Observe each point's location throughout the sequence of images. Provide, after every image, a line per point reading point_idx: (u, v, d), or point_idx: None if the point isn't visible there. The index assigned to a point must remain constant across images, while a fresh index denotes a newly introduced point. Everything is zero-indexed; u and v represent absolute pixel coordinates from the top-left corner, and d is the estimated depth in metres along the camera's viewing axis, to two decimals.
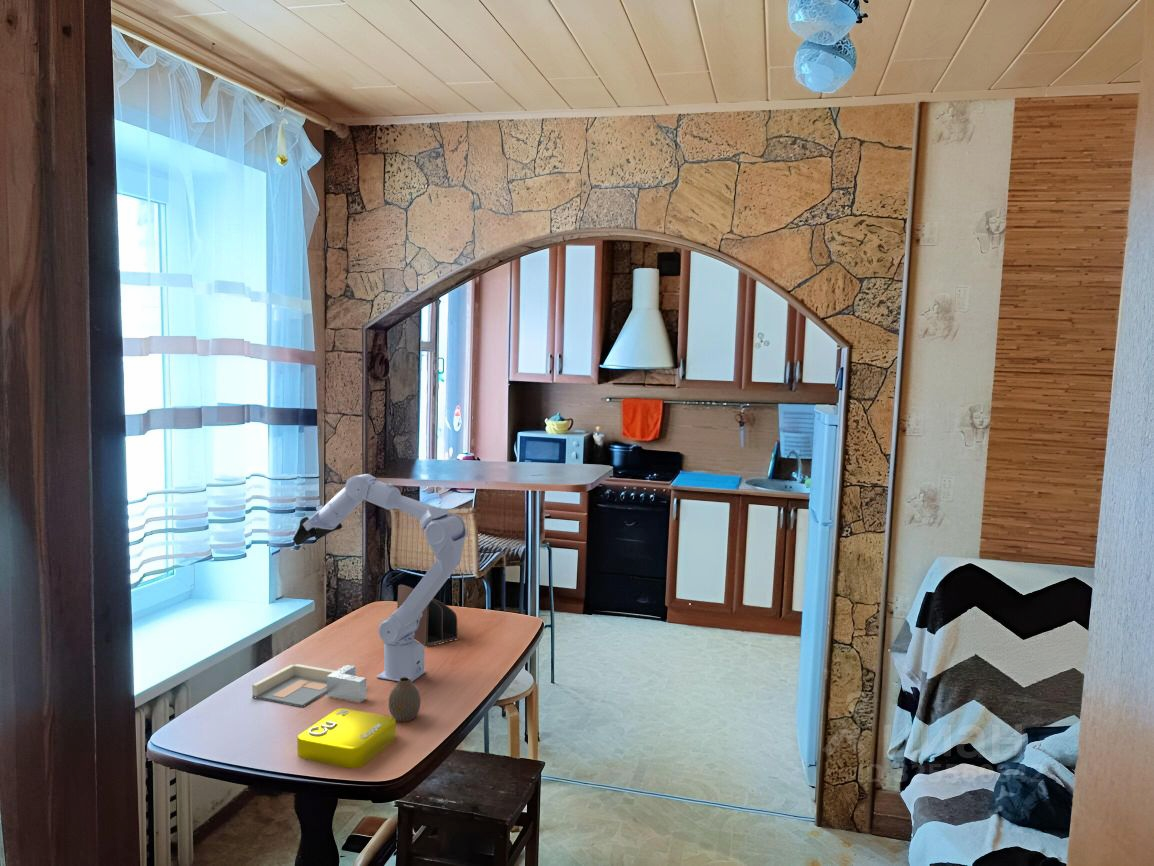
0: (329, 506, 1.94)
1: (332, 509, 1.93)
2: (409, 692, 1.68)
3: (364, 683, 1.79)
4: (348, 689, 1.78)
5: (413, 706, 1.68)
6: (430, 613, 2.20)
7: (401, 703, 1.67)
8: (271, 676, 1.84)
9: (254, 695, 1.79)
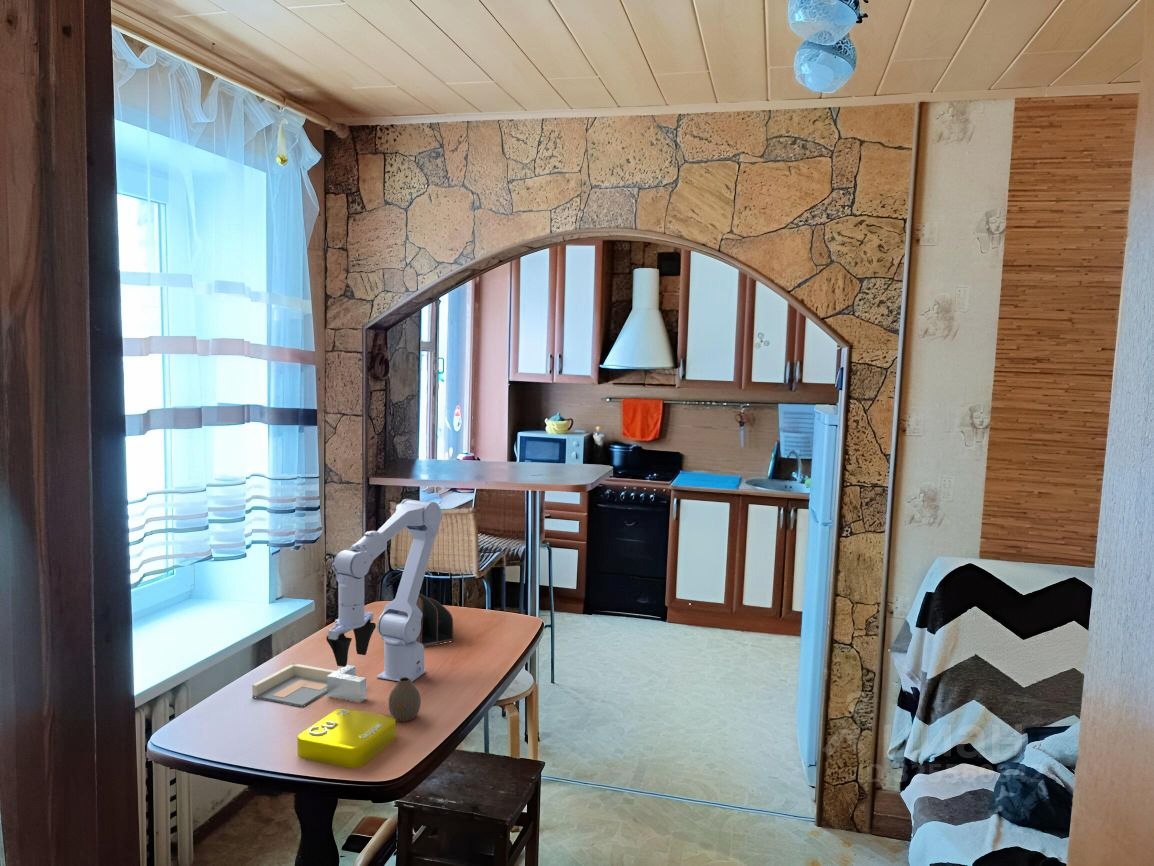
0: (340, 605, 1.75)
1: (344, 605, 1.75)
2: (410, 692, 1.68)
3: (364, 683, 1.79)
4: (348, 689, 1.78)
5: (413, 707, 1.68)
6: (427, 614, 2.20)
7: (401, 703, 1.67)
8: (271, 676, 1.84)
9: (254, 695, 1.79)
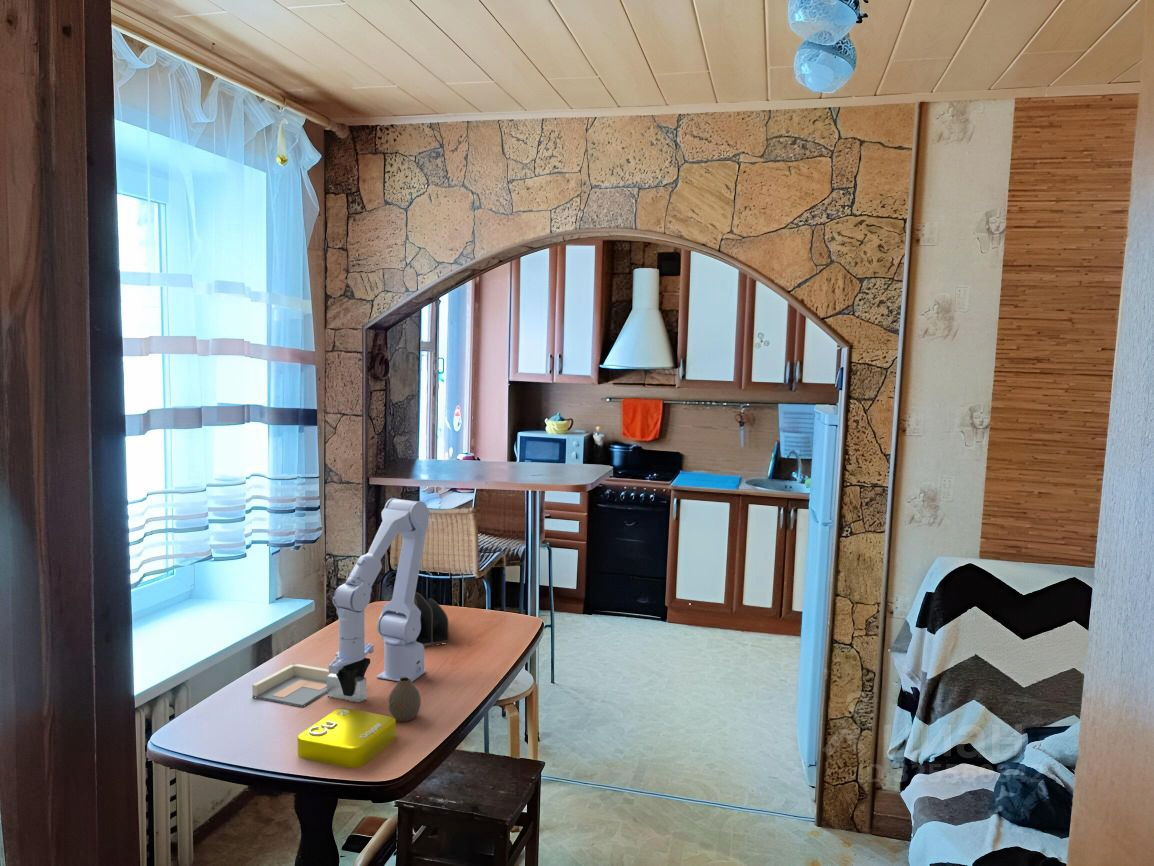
0: (340, 639, 1.76)
1: (344, 638, 1.75)
2: (409, 692, 1.68)
3: (364, 683, 1.79)
4: None
5: (413, 706, 1.68)
6: (424, 614, 2.19)
7: (401, 703, 1.67)
8: (271, 676, 1.84)
9: (254, 695, 1.79)
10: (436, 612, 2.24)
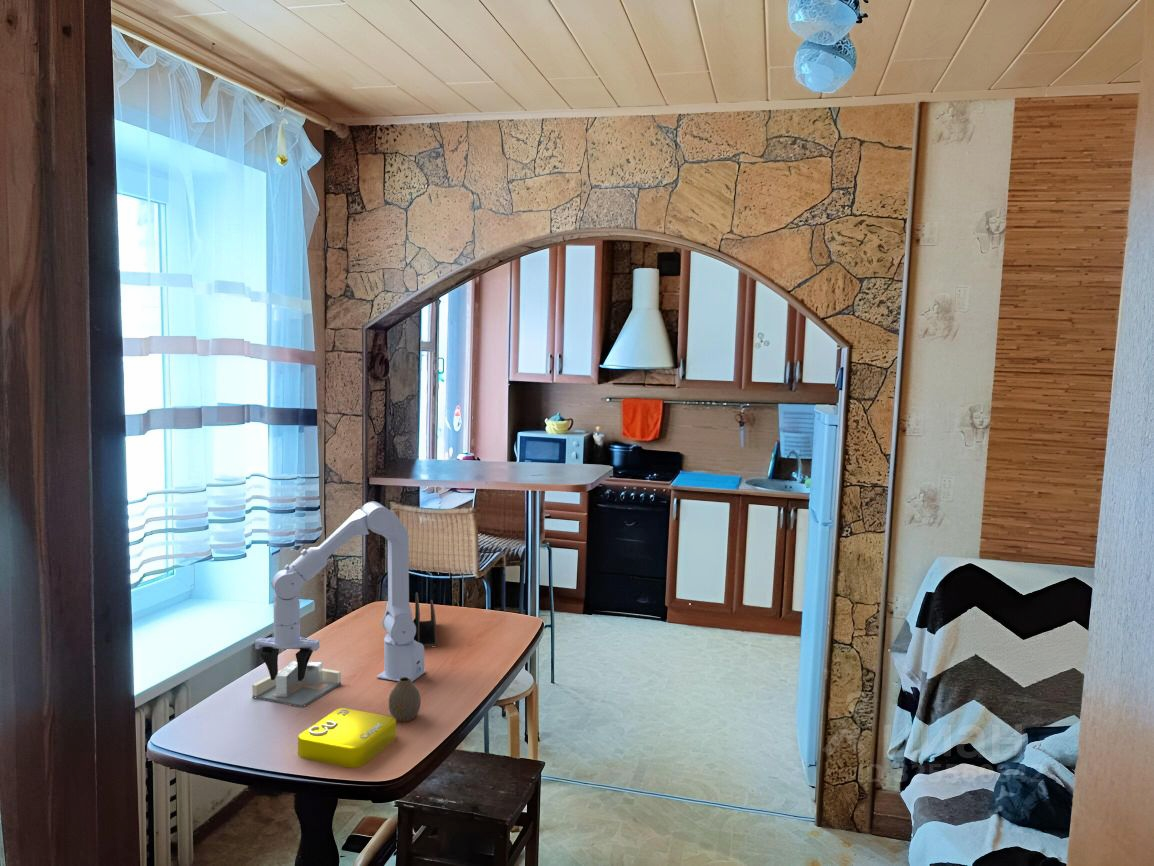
0: None
1: None
2: (409, 692, 1.68)
3: (283, 680, 1.78)
4: None
5: (413, 706, 1.68)
6: (416, 616, 2.18)
7: (401, 703, 1.67)
8: None
9: (254, 695, 1.79)
10: None
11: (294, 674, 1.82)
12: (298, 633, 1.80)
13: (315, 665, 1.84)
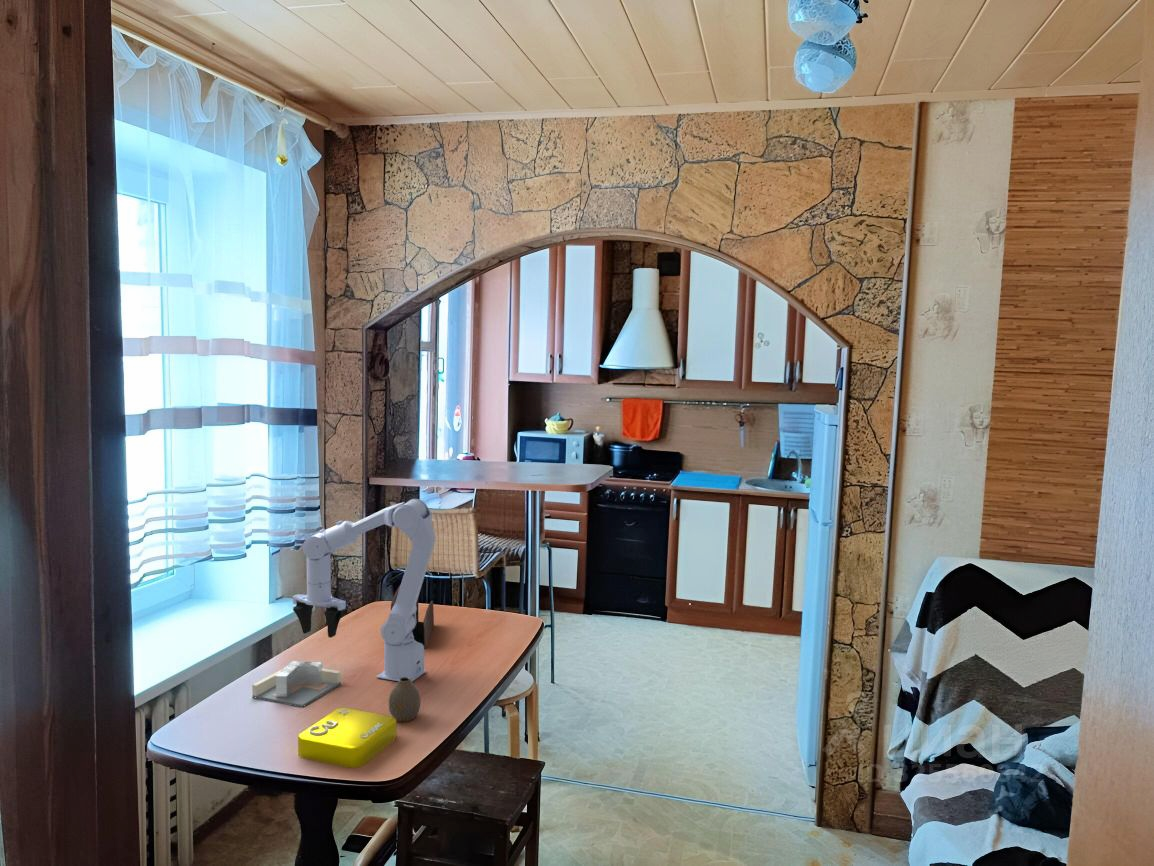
0: None
1: None
2: (409, 692, 1.68)
3: (283, 680, 1.78)
4: None
5: (413, 706, 1.68)
6: None
7: (401, 702, 1.67)
8: (271, 676, 1.84)
9: (254, 695, 1.79)
10: None
11: (294, 674, 1.82)
12: (327, 592, 1.93)
13: (315, 665, 1.84)
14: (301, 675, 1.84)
